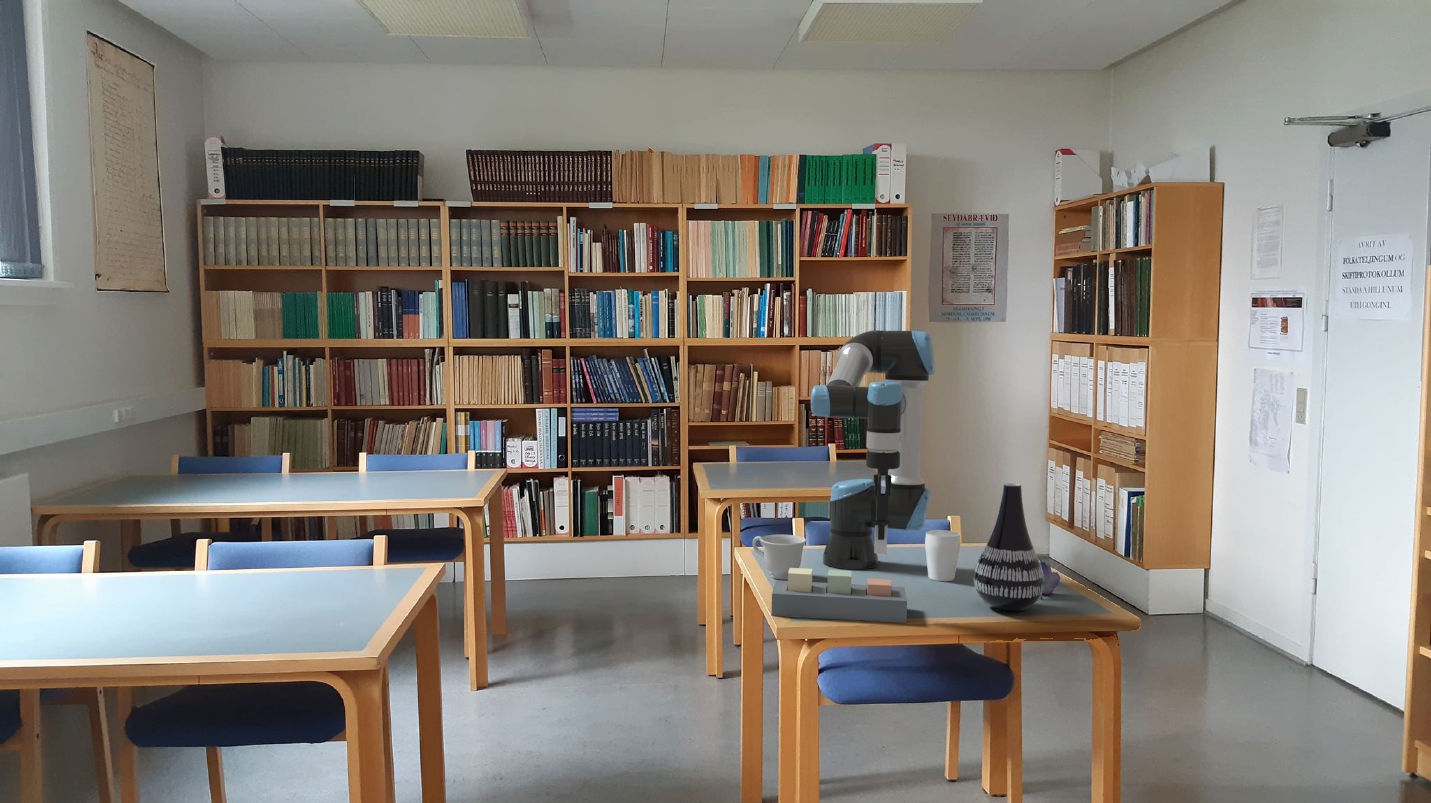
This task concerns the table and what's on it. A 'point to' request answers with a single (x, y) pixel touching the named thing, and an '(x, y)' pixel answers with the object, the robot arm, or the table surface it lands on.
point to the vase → (1009, 559)
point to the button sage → (839, 582)
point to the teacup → (780, 553)
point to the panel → (839, 603)
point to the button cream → (800, 580)
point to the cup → (942, 554)
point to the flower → (1049, 579)
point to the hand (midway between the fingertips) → (880, 552)
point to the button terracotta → (879, 587)
